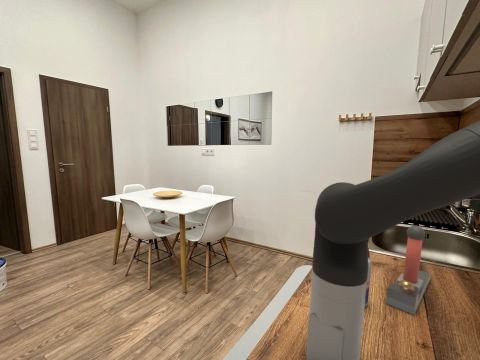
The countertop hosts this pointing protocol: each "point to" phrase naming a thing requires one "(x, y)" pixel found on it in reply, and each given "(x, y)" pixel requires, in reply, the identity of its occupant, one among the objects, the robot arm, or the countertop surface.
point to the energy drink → (368, 282)
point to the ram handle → (413, 257)
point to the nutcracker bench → (408, 308)
